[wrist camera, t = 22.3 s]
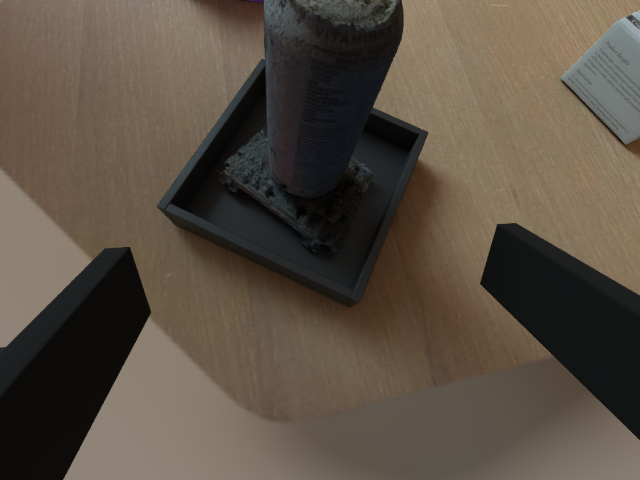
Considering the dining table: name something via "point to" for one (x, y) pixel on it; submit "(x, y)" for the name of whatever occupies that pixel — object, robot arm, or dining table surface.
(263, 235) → the black tray
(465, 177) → the dining table surface
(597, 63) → the small box
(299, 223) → the beverage can
